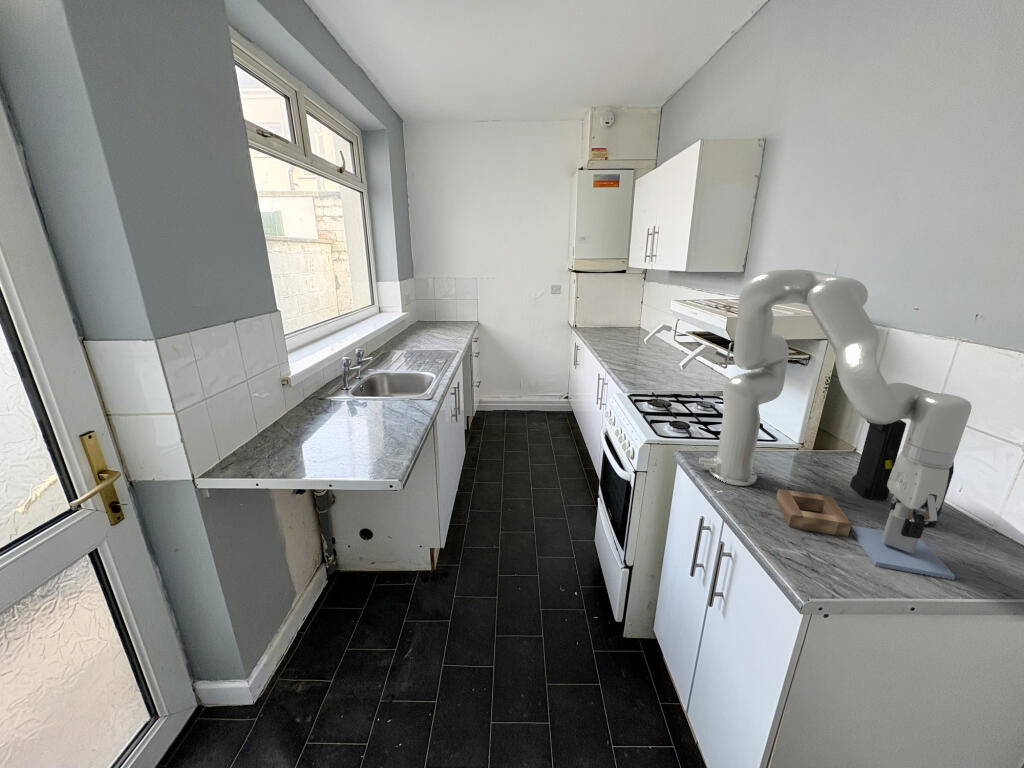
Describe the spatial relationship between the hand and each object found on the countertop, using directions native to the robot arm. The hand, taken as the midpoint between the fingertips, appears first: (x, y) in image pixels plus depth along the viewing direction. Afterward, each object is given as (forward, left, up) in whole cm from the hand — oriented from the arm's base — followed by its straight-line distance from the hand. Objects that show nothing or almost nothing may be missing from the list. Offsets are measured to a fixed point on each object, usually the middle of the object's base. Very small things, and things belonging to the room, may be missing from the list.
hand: (903, 527), depth 89 cm
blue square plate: (0, 0, -6) cm, 6 cm away
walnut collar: (-14, +9, -6) cm, 18 cm away
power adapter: (0, 0, -5) cm, 5 cm away
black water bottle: (+11, +16, -6) cm, 20 cm away
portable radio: (+5, +26, -6) cm, 27 cm away
